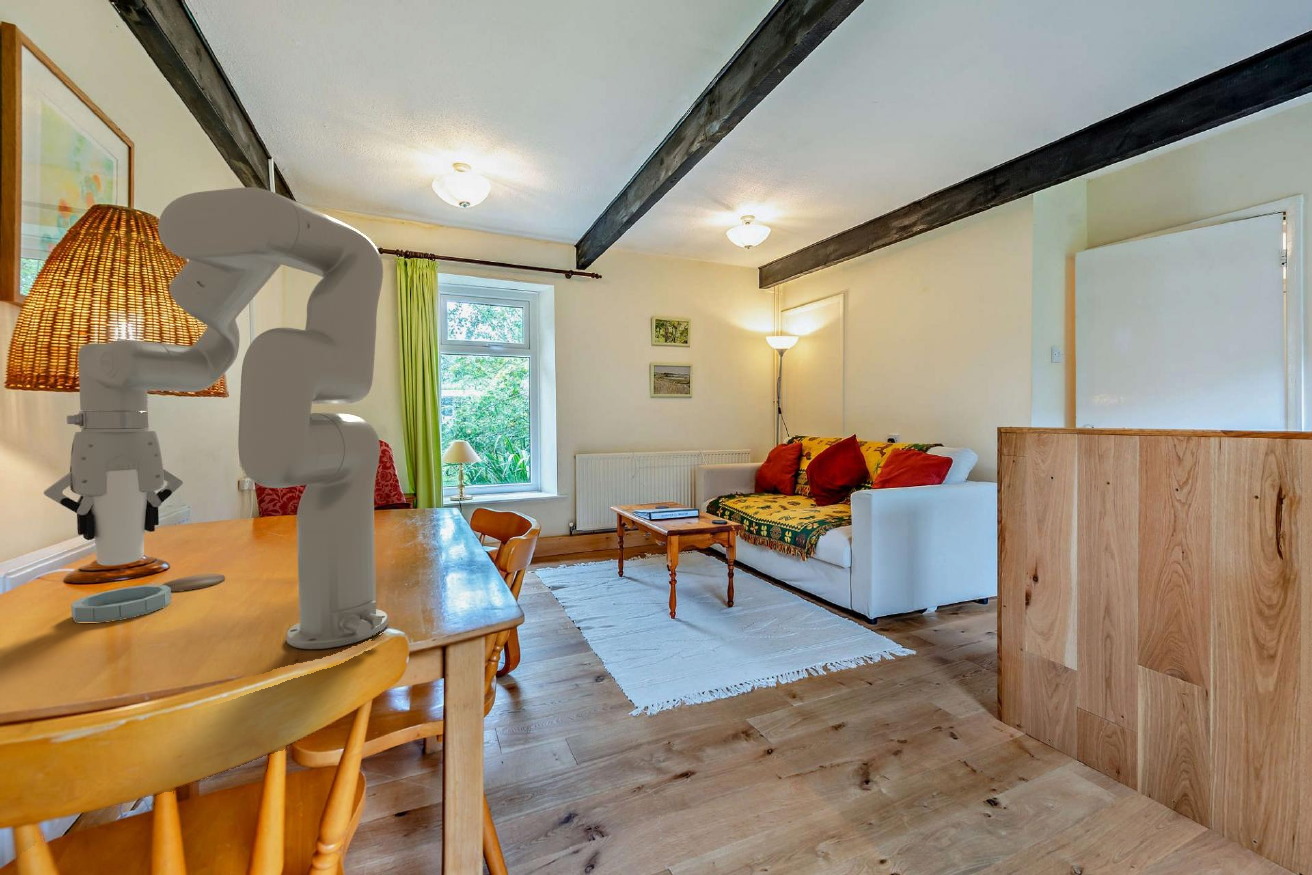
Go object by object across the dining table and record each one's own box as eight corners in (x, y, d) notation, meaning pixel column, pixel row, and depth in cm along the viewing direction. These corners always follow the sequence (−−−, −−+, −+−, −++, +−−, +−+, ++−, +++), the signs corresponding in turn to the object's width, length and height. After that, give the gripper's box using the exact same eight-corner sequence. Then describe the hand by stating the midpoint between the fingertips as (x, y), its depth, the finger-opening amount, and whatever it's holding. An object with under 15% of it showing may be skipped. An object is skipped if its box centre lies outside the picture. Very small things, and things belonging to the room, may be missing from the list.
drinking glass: (79, 565, 83) (75, 470, 82) (132, 554, 89) (129, 466, 89) (107, 569, 81) (103, 471, 80) (160, 558, 87) (157, 467, 87)
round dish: (179, 606, 87) (179, 592, 87) (82, 629, 78) (81, 613, 78) (158, 594, 93) (158, 581, 93) (66, 614, 84) (65, 599, 84)
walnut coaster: (232, 581, 100) (232, 579, 100) (169, 595, 93) (169, 592, 93) (214, 573, 105) (214, 571, 105) (154, 585, 98) (154, 583, 98)
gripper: (37, 423, 75) (42, 549, 76) (193, 422, 89) (197, 528, 90) (27, 423, 79) (33, 542, 80) (178, 422, 93) (182, 522, 94)
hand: (120, 533), depth 85 cm, fingers closed on drinking glass, 6 cm apart
